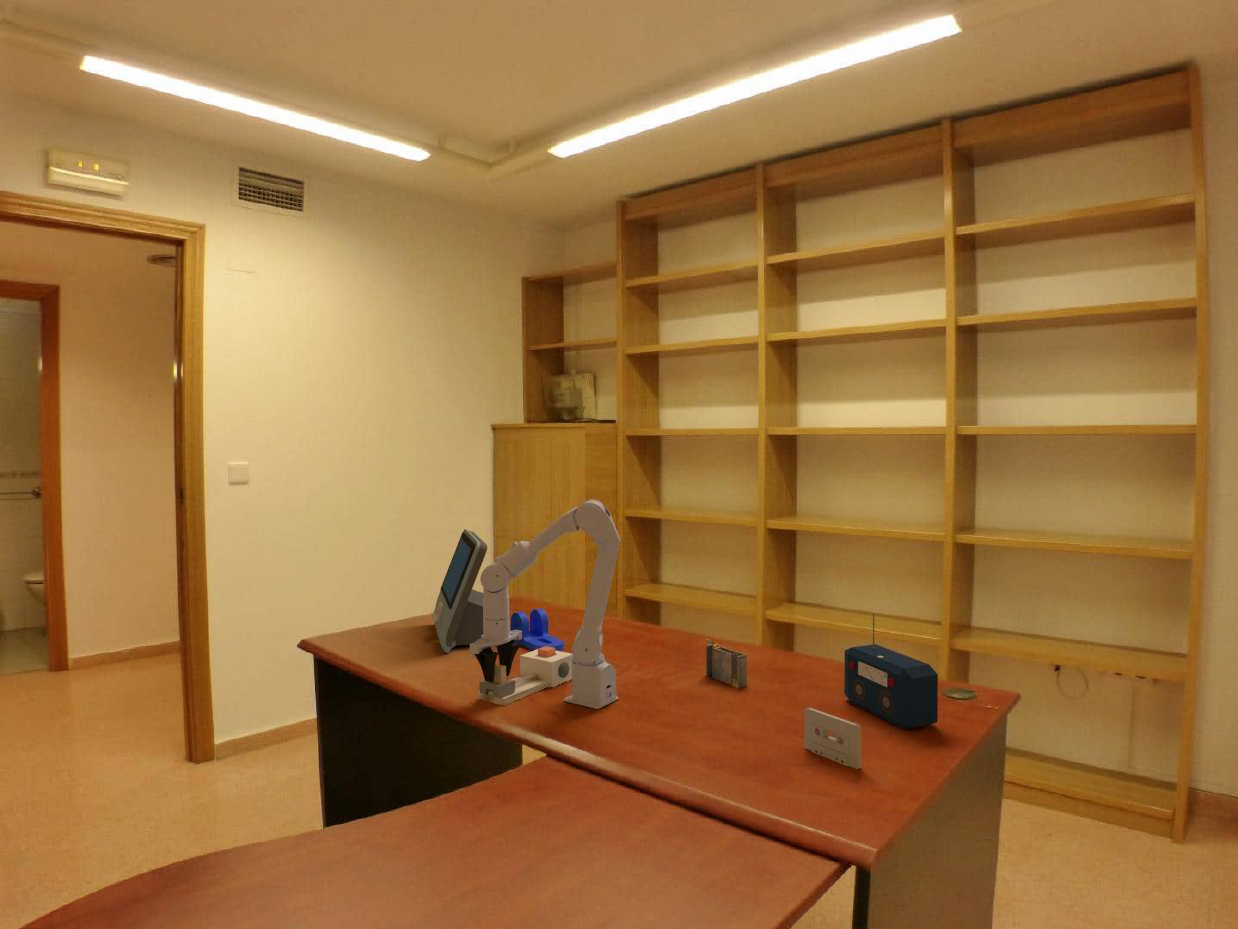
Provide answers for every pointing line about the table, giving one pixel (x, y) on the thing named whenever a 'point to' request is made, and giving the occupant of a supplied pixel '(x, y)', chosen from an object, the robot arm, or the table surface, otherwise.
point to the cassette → (838, 749)
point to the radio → (891, 685)
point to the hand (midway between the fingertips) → (497, 678)
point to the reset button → (546, 652)
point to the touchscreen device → (461, 596)
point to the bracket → (535, 630)
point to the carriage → (498, 683)
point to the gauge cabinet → (548, 666)
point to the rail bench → (517, 691)
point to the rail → (521, 681)
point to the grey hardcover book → (726, 665)
